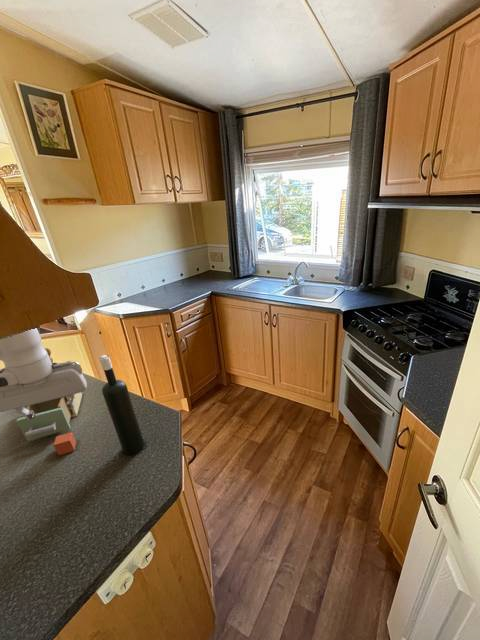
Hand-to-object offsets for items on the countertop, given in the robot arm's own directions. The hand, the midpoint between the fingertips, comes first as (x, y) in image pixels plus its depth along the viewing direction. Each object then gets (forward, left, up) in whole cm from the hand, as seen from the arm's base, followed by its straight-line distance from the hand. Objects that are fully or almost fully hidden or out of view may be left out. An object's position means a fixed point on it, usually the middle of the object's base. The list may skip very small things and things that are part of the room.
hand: (52, 412), depth 80 cm
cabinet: (-6, +24, -13) cm, 28 cm away
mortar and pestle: (-8, +40, -13) cm, 43 cm away
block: (0, 0, -13) cm, 13 cm away
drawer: (-6, +13, -12) cm, 19 cm away
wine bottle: (+18, -9, -13) cm, 24 cm away
